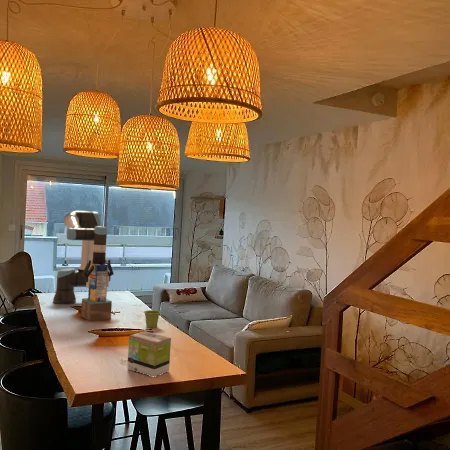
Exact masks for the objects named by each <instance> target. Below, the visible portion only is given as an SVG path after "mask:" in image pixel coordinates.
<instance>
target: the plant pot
mask: <svg viewBox="0 0 450 450" xmlns="http://www.w3.org/2000/svg"><path fill="white" fill-rule="evenodd" d="M143 313H144V316H145V326H146V328H149V329H150V328H152V329H155V328H157V327H158V322H159V316H160V314H161V311H159V310H153V309H152V310H145V311H144V312H143Z"/></svg>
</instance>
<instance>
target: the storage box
mask: <svg viewBox="0 0 450 450" xmlns="http://www.w3.org/2000/svg"><path fill="white" fill-rule="evenodd" d="M112 304H113V303H102V304H89V303H87V302H85V301H83V300H82V299H81V309H80V311H81V313H80V317H82V318H84V319H86V320H88V321H89V322H95V321H106V320H111V319H112V308H113V307H112V306H113V305H112Z"/></svg>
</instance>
